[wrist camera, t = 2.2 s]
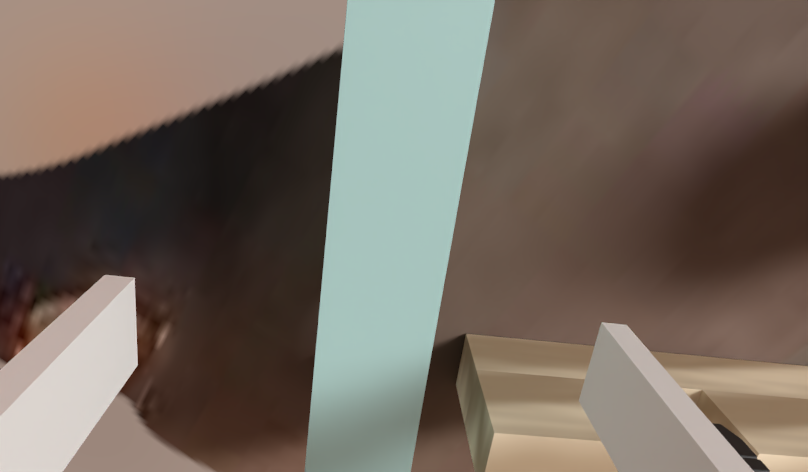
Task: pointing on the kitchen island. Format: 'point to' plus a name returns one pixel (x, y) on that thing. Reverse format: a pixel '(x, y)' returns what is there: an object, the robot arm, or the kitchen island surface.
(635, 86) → the kitchen island surface
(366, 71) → the teal board
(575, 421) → the birch rail
